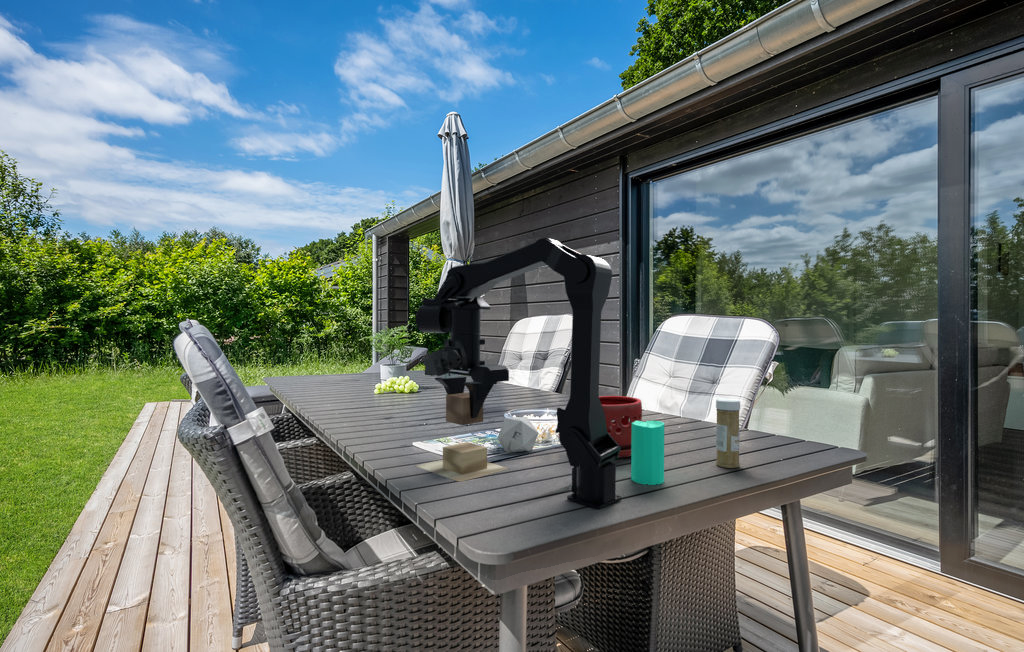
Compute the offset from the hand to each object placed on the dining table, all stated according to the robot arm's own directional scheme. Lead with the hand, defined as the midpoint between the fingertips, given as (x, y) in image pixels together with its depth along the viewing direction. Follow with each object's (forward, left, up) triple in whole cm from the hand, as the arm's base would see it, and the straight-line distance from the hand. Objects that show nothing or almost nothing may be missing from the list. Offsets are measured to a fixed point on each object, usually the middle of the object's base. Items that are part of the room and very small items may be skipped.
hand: (464, 416), depth 101 cm
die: (+4, -18, -11) cm, 22 cm away
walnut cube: (0, 0, -1) cm, 1 cm away
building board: (+1, 0, -11) cm, 11 cm away
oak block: (0, 0, -10) cm, 10 cm away
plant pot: (-10, -33, -11) cm, 36 cm away
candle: (-26, -22, -11) cm, 36 cm away
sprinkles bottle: (-32, -42, -11) cm, 54 cm away
